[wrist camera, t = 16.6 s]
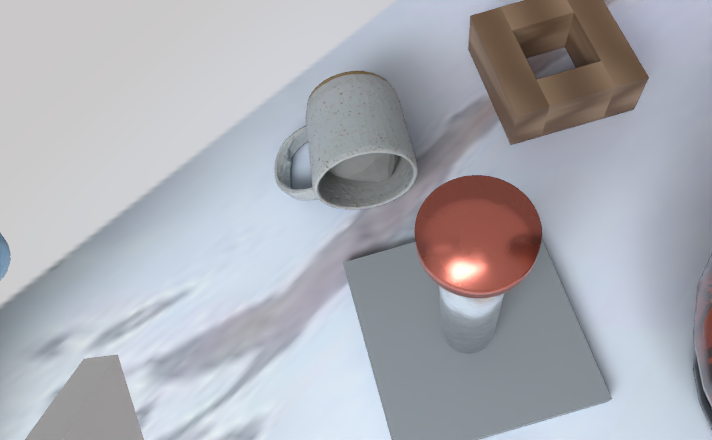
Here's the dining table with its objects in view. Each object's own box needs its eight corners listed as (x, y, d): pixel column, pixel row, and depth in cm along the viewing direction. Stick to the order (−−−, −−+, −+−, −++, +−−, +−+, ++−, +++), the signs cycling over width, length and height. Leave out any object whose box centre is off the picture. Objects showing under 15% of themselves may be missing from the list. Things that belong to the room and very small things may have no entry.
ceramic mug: (398, 111, 53) (390, 49, 46) (421, 197, 49) (416, 144, 42) (273, 141, 53) (246, 84, 46) (286, 229, 50) (260, 181, 43)
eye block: (511, 144, 50) (516, 115, 47) (468, 49, 55) (470, 15, 51) (633, 109, 50) (648, 77, 47) (581, 16, 55) (591, -19, 51)
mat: (398, 463, 41) (397, 461, 40) (344, 267, 47) (342, 262, 47) (608, 401, 41) (611, 398, 40) (527, 214, 48) (528, 208, 47)
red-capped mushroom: (440, 379, 42) (436, 305, 28) (415, 300, 45) (399, 195, 30) (522, 354, 42) (562, 268, 28) (492, 277, 45) (514, 161, 30)
